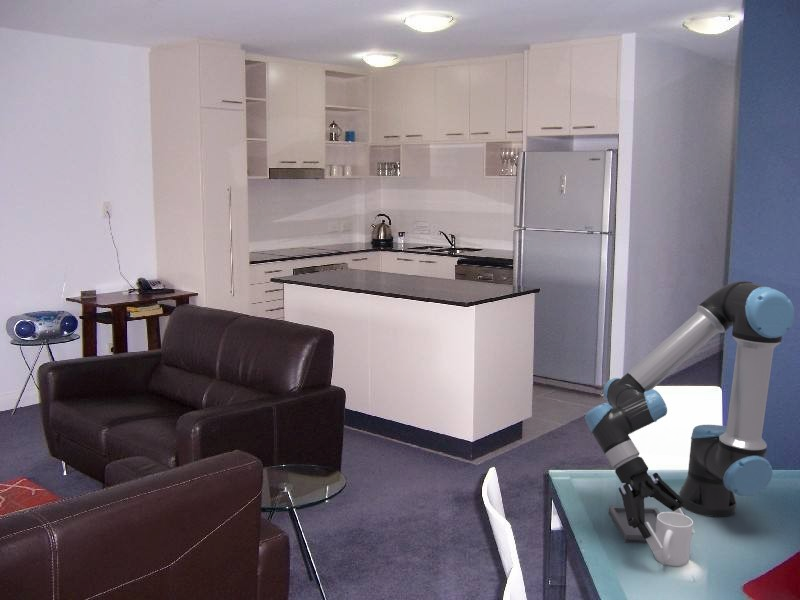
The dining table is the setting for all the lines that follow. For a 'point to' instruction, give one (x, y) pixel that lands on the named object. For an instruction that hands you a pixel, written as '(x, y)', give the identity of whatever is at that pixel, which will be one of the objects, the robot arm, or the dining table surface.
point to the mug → (673, 538)
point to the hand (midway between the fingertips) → (674, 542)
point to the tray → (628, 531)
